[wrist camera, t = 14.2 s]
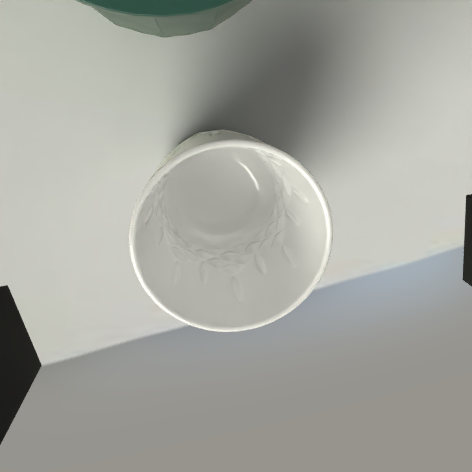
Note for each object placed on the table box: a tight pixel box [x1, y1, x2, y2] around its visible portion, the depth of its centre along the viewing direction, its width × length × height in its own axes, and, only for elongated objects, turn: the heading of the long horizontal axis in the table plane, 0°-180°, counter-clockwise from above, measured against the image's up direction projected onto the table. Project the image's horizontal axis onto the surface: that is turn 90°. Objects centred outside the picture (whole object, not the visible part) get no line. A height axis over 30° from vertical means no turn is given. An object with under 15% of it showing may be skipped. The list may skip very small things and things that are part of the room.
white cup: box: [129, 129, 333, 332], centre depth 21 cm, size 8×8×10 cm
